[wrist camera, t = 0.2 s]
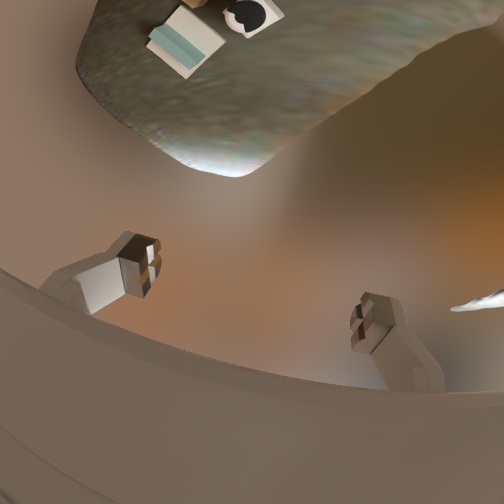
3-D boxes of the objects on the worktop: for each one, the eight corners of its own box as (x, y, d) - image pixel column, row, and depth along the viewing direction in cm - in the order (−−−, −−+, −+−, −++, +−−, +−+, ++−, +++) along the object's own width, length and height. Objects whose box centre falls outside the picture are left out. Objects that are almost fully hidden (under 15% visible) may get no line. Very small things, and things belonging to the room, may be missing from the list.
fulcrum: (182, 4, 37) (168, 8, 34) (226, 41, 44) (216, 47, 40) (148, 45, 46) (133, 52, 42) (187, 77, 52) (176, 87, 49)
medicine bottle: (262, -10, 33) (245, -11, 26) (285, 15, 37) (275, 21, 30) (233, 9, 38) (210, 14, 31) (255, 33, 42) (239, 44, 35)
